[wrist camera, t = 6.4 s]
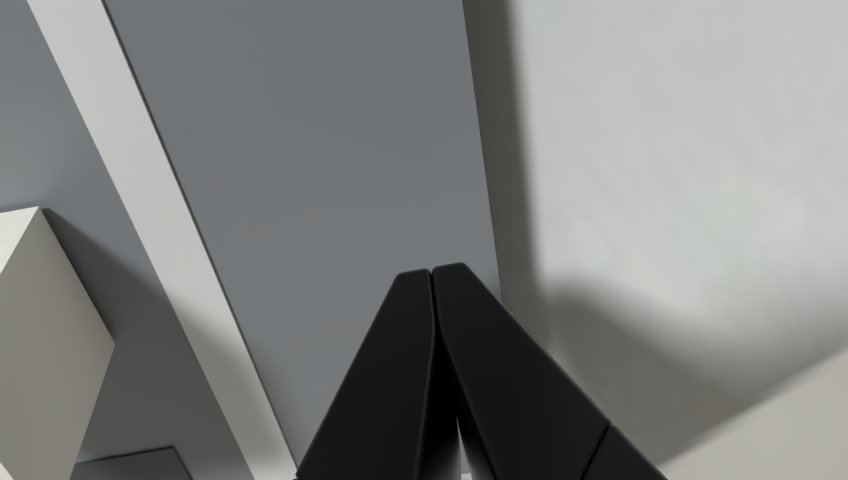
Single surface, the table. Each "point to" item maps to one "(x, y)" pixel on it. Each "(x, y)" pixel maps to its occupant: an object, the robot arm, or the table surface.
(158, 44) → the panel
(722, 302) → the table surface
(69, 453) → the orange patched ivory cube
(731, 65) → the table surface
